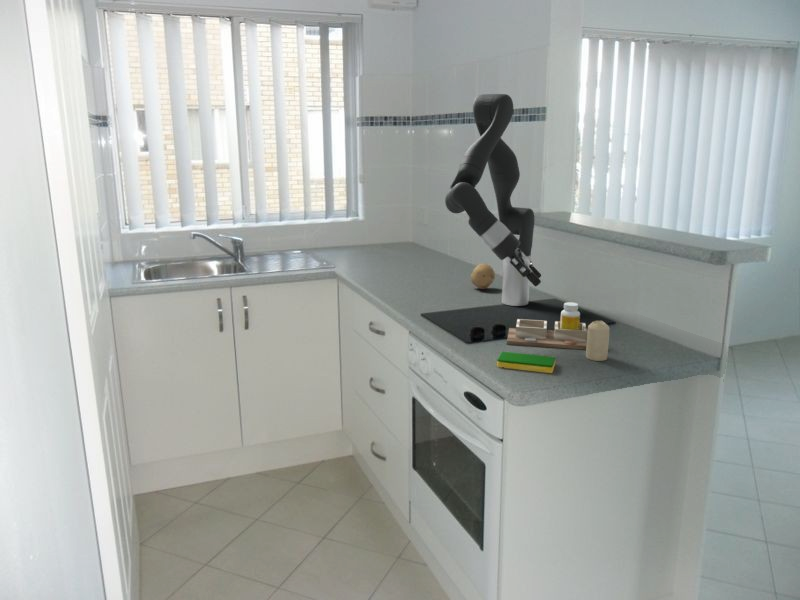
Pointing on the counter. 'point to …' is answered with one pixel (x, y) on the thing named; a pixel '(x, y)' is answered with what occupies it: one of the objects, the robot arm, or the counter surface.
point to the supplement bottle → (570, 316)
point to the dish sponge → (526, 362)
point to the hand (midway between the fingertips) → (538, 281)
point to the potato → (482, 276)
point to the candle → (597, 341)
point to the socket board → (547, 335)
